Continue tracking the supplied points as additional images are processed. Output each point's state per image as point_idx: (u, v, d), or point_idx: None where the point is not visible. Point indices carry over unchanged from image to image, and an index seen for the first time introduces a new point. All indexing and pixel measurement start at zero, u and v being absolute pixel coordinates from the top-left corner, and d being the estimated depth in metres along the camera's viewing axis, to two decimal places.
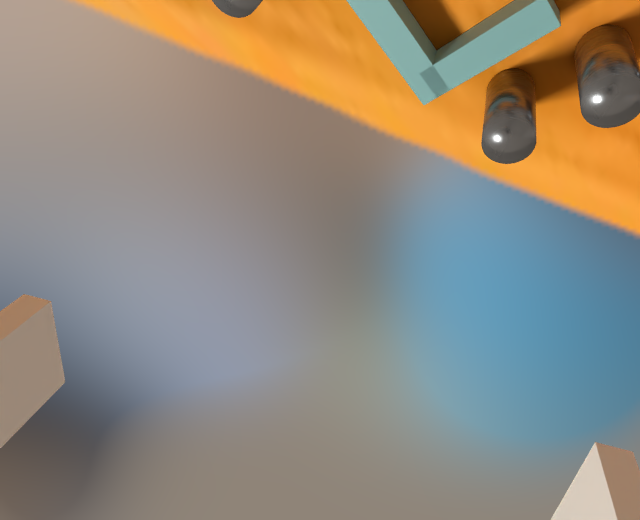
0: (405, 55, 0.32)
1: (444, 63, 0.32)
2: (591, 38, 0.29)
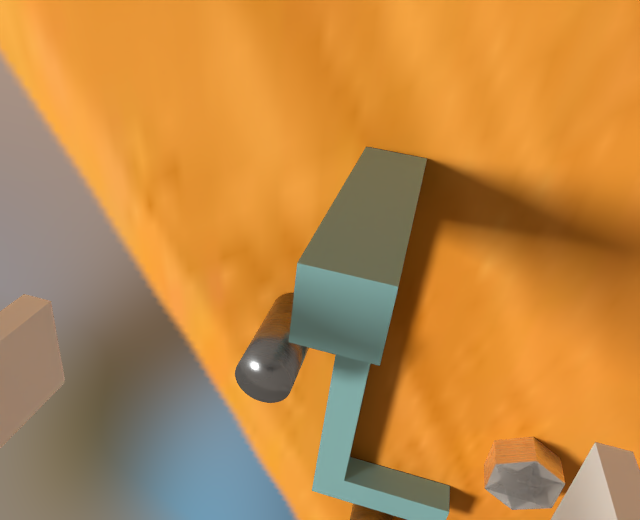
0: (331, 461, 0.34)
1: (352, 486, 0.34)
2: None
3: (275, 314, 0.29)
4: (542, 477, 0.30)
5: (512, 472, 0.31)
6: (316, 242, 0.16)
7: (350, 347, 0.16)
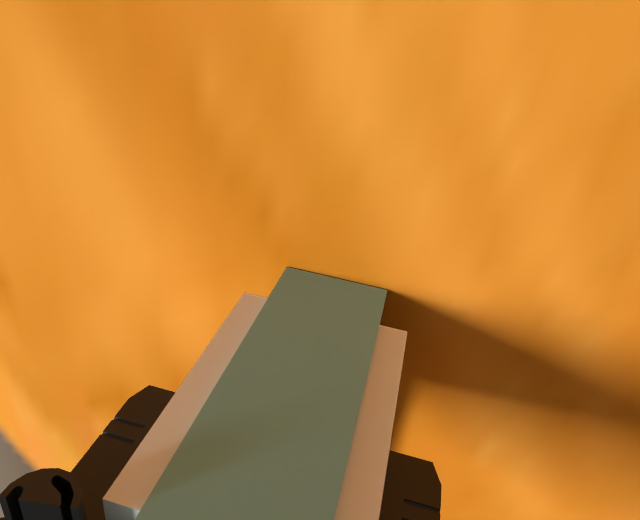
0: None
1: None
2: None
3: None
4: None
5: None
6: None
7: None
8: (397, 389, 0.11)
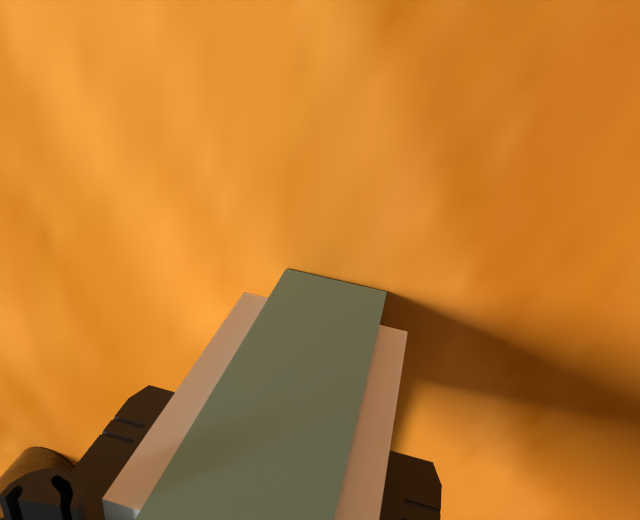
0: None
1: None
2: None
3: None
4: None
5: None
6: None
7: None
8: (397, 389, 0.11)
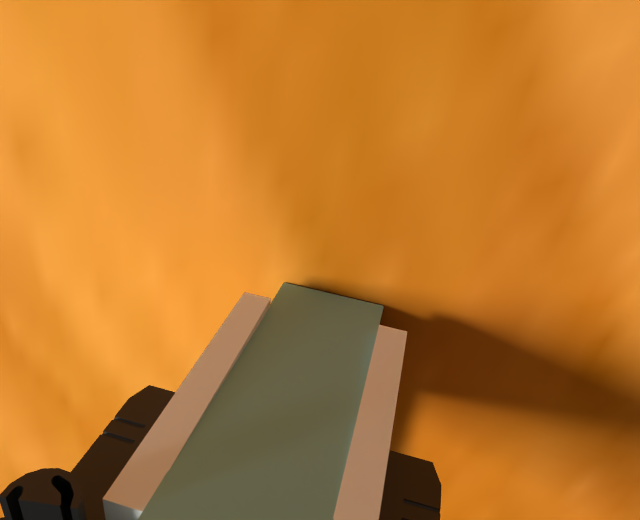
0: None
1: None
2: None
3: None
4: None
5: None
6: None
7: None
8: (397, 389, 0.11)
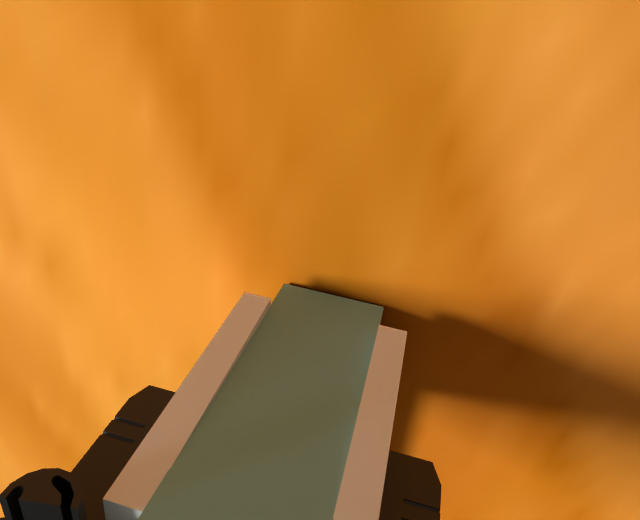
0: None
1: None
2: None
3: None
4: None
5: None
6: None
7: None
8: (397, 389, 0.11)
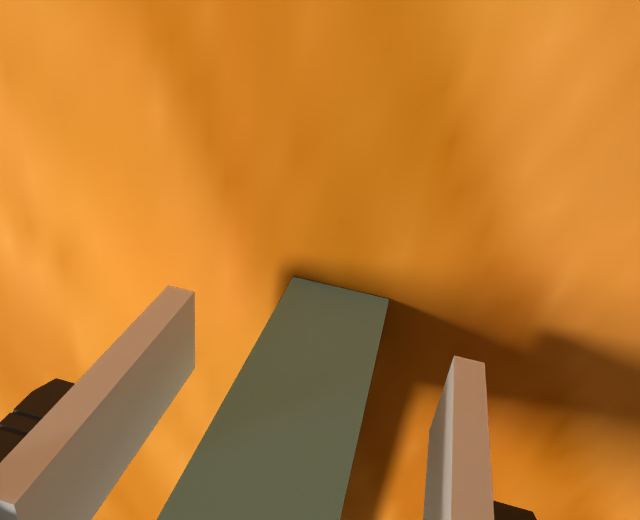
0: None
1: None
2: None
3: None
4: None
5: None
6: None
7: None
8: (487, 430, 0.11)
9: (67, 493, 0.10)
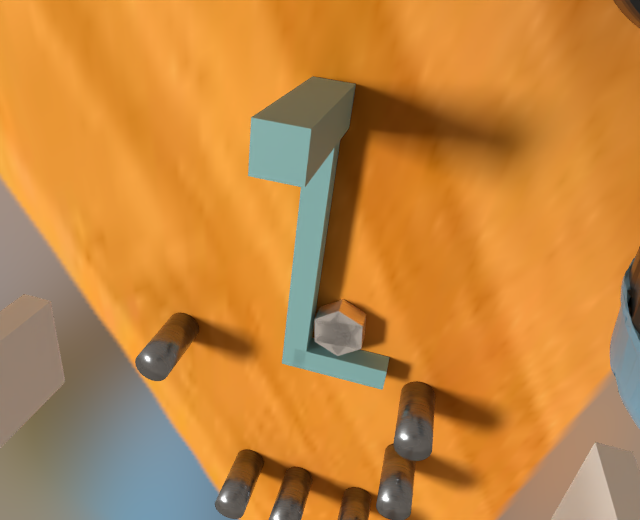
0: (295, 335, 0.43)
1: (312, 355, 0.44)
2: (296, 475, 0.53)
3: (165, 326, 0.46)
4: (346, 324, 0.42)
5: (327, 323, 0.42)
6: (265, 111, 0.26)
7: (286, 175, 0.26)
8: None
9: None
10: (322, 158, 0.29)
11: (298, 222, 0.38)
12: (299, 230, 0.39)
